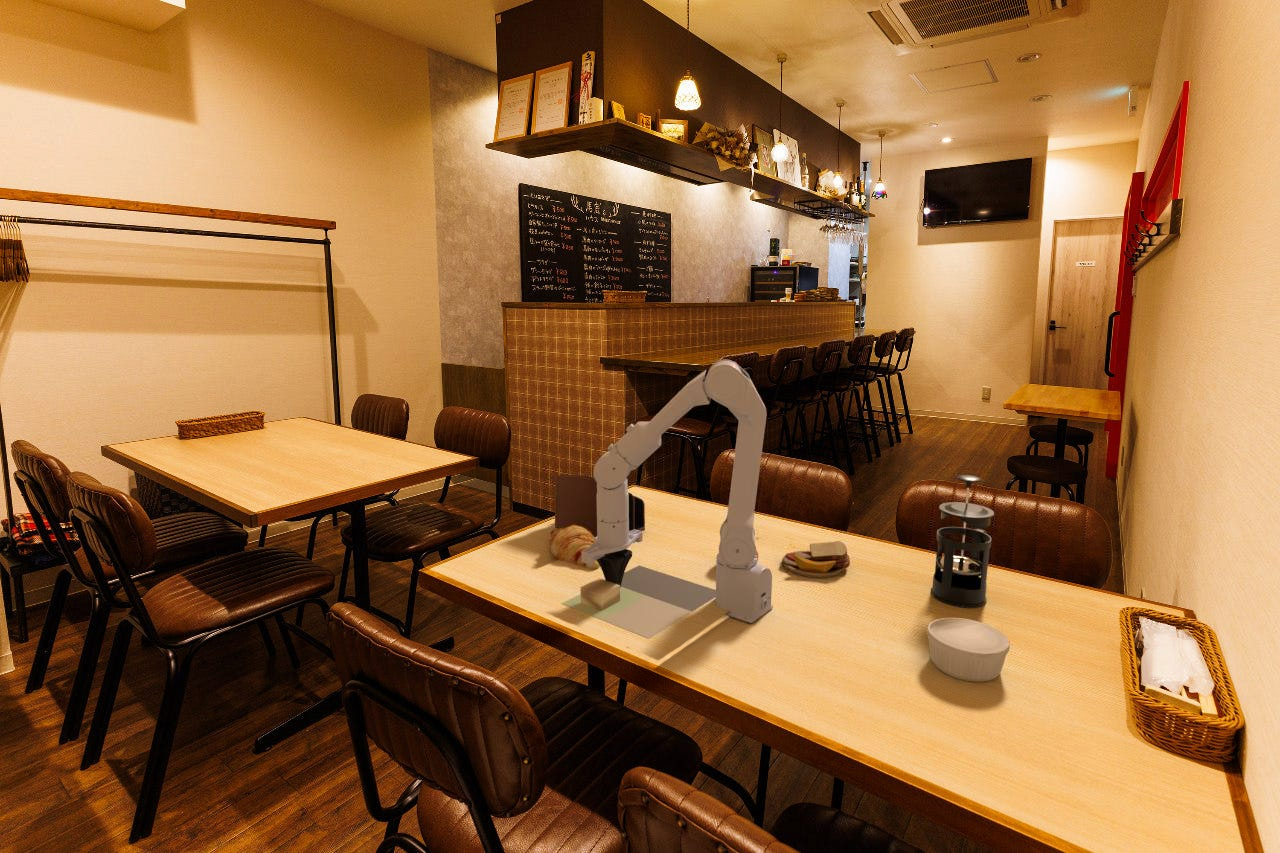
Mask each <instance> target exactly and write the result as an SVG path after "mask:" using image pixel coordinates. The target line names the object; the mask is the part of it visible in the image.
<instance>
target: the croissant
mask: <svg viewBox="0 0 1280 853" xmlns="http://www.w3.org/2000/svg"><path fill="white" fill-rule="evenodd" d="M594 538H595V536H593V535H592V533H591V532H590V531H589V530H587V529H585V528H583V527H580V526H576V525H571V526H568V527H566V528H564V529H560V528H556V529H552V530H551V531H550V537H549V540H548V541H549V551H550V553H551V555H552V556H553V557H554V558H555V559H556V560H558V561H564V562H569V563H572V564H575V565H577V566H581V567H582V566H583V567H584V568H588V569H590V570H597V569H599V568H601V567H600V565H599V563H598V562H597V560H594V561H593V563H592V564H590V565H589V564H586V563H584V562H582V553H581V552H582V551H584V550H586V549H587V548H589V547H590V546H591V545H592V544H593V543H594V542H595V541H594Z"/></svg>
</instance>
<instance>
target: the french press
mask: <svg viewBox="0 0 1280 853" xmlns="http://www.w3.org/2000/svg"><path fill="white" fill-rule="evenodd" d="M956 479H957V481H962V482H965V488H966V498H965V502H961V501H960V502H958V501H952V502H951V501H950V502H943V503H941V504H940V505H939V507H938V509H939V510H940V511H941V512H940V519H941V520H943V519H945V518H946V517H948V516H952V517H956V518H959V520H961V521H963V527H959V526H947V527H941V528H939V529H937V531H936V541H937V543H936V544H937V545H936V555H935V568H934V573H933V575H932V576H933V577H932V587H931V588H930V594H931V596H932V597H933V598H934V599H935V600H937V601H939V602H941V603H944V604H946V605H950V606H953V607H956V606H957V608H963V609H965V608H966V609H975V608H980V607H984V606H985V605H986V603H987V597H986V596H987V595H986V594H987V588H988V587H987V586H988V584H987V579H988V567H989V559H990V558H989V557H990V548H991V547H992V537H991V535H989V534H988V531H986V530H984V528H989V527H990V525H991V521H992V520H991V519H992V518H993V517H994V516H995V511H993V509H991V508H989V507H986V506H983V505H980V504H975V503H970V502H969V497H970V496H969V494H970V489H971V488H972V483H980V482H981V483H982V482H983V479H982V478H980V477H978V476H975V475H969V474H960V475H957V476H956ZM966 525H968V526H970V527H971V528H968V527H967V526H966ZM972 528H974V529H972ZM953 534H954V535H962V540H961V542H959V541H955V540H951V539H948V538H945V535H953ZM966 536H969V537H970V543H969V542H967V543H966V542H965V538H966ZM955 550H960V551H961V552H960V555H955ZM964 551H966V552H967V551H968V552H969V555H968V556H969V557H968V556H964ZM943 552H944V553H943Z"/></svg>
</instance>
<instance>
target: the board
mask: <svg viewBox="0 0 1280 853" xmlns="http://www.w3.org/2000/svg"><path fill="white" fill-rule="evenodd" d="M713 599H716V588H715V589H714V588H712V587H708V586H705V585H701V584H699V583H695V582H692V581H688V580H687V579H686V580H685V579H683V578H680V577H677V576H673V575H669V574H667V573H664V572H662V571H658V570H655V569H653V568H652V569H651V568H648V567H645V566H642V565H637V566H635V567H633V568H631V569H629V570H627V571H625V572H624V575H623V579H622V583H621V587H620V601H619V602H617V603H615V604H614V605H612V606H610V607H608V608H606V609H604V610H602V611H600V610H598V609H595V608H593V607H590V606H587V605H585V604H582V603H581V593H580V594H578V595H576V596H574V597H572V598H569V599H568V600H565V601H563V602H561V603H560V604H561V605H563V606H566V607H568V608H571V609H574V610H576V611H578V612H581V613H584V614H586V615H589V616H591V617H593V618H597V619H598V620H601V621H603V622H606V623H608V624H611V625H613V626H616V627H617V628H621V629H624V630H626V631H629V632H631V633H634V634H636V635H638V636H640V637H643V638H645V639H648V640H650V639H651V638H653V637H654V636H656V635H658V634H659V633H661V632H662V631H664V630H666V629H667V628H668V627H670V626H672V625H674V624H675V623H677V622H678V621H680V620H682V619H683V618H685V617H686V616H688V615H689V614H690V613H692V612H694V611H696V610H697V609H699V608H700V607H702V606H704V605H705V604H707V603H709V602H710V601H712V600H713Z"/></svg>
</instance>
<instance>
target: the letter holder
mask: <svg viewBox="0 0 1280 853" xmlns="http://www.w3.org/2000/svg"><path fill="white" fill-rule="evenodd" d="M628 494H629V531H632V530H634V529H635V530H639V531H643V530H644V531H646V516H645V515H646V514H645V513H646V511H645V510H646V508H645V501H644V500H643V499H642V498H640V497H638V496H635V495H633V493H631V492H629V491H628ZM571 525H576V526H580V527H583V528H585V529H587V530H589V531H590V532H591V533H592V535H593V537H595V536H596V537H597V482H596V480H595V478H594V476H593V477H592V476H587V475H580V474H579V475H577V474H558V475H556V476H555V478H554V527H555V528H556V527H558V528H557V529H560V528H562V529H564V528H566V527H568V526H571ZM644 531H643V532H644Z"/></svg>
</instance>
